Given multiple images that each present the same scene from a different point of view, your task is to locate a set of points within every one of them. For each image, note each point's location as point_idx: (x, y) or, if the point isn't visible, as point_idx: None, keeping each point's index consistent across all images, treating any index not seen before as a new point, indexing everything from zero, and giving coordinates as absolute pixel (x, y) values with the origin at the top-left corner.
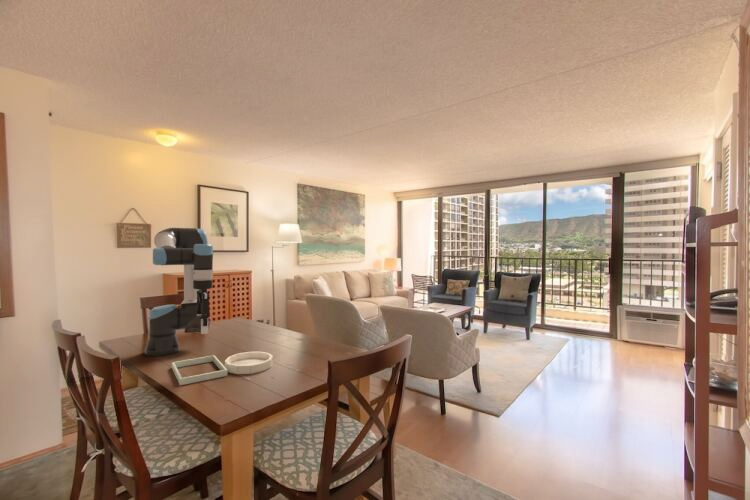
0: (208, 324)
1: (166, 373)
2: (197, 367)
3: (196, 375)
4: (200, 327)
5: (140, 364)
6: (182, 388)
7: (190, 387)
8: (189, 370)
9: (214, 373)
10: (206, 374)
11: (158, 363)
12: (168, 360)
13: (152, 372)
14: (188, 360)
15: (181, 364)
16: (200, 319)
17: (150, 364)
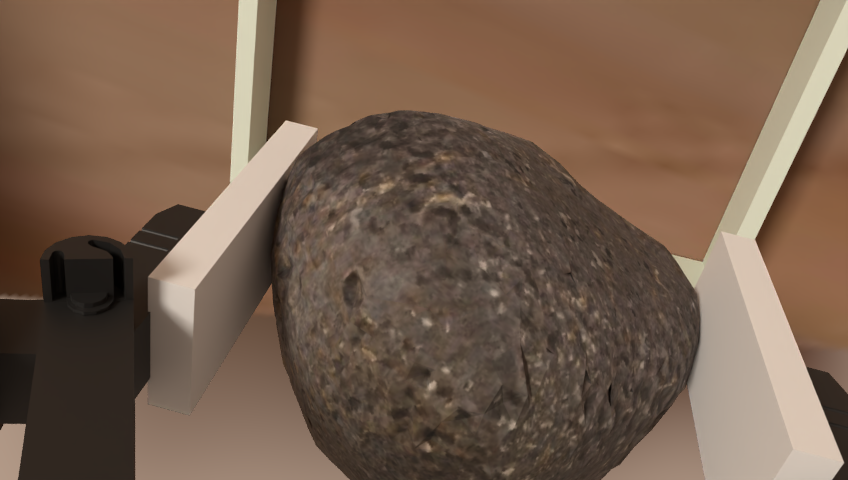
0: (561, 211)
1: None
2: (386, 7)
3: (765, 197)
4: (671, 400)
5: (26, 277)
6: (791, 291)
7: (830, 250)
8: (418, 94)
9: (845, 43)
10: (810, 118)
11: (66, 190)
12: (20, 109)
13: (268, 290)
14: (255, 61)
15: (261, 110)
16: (576, 469)
17: (62, 236)
